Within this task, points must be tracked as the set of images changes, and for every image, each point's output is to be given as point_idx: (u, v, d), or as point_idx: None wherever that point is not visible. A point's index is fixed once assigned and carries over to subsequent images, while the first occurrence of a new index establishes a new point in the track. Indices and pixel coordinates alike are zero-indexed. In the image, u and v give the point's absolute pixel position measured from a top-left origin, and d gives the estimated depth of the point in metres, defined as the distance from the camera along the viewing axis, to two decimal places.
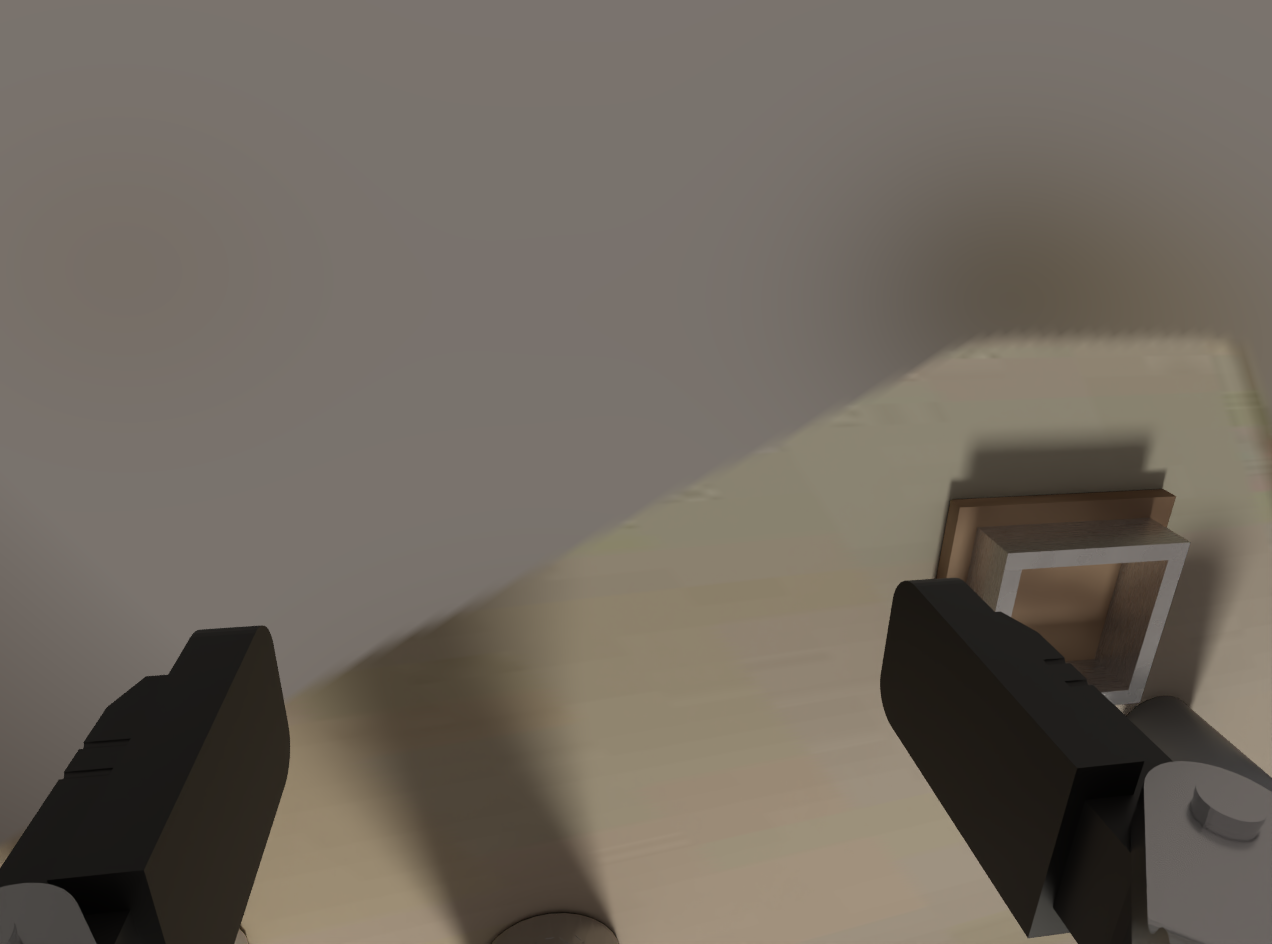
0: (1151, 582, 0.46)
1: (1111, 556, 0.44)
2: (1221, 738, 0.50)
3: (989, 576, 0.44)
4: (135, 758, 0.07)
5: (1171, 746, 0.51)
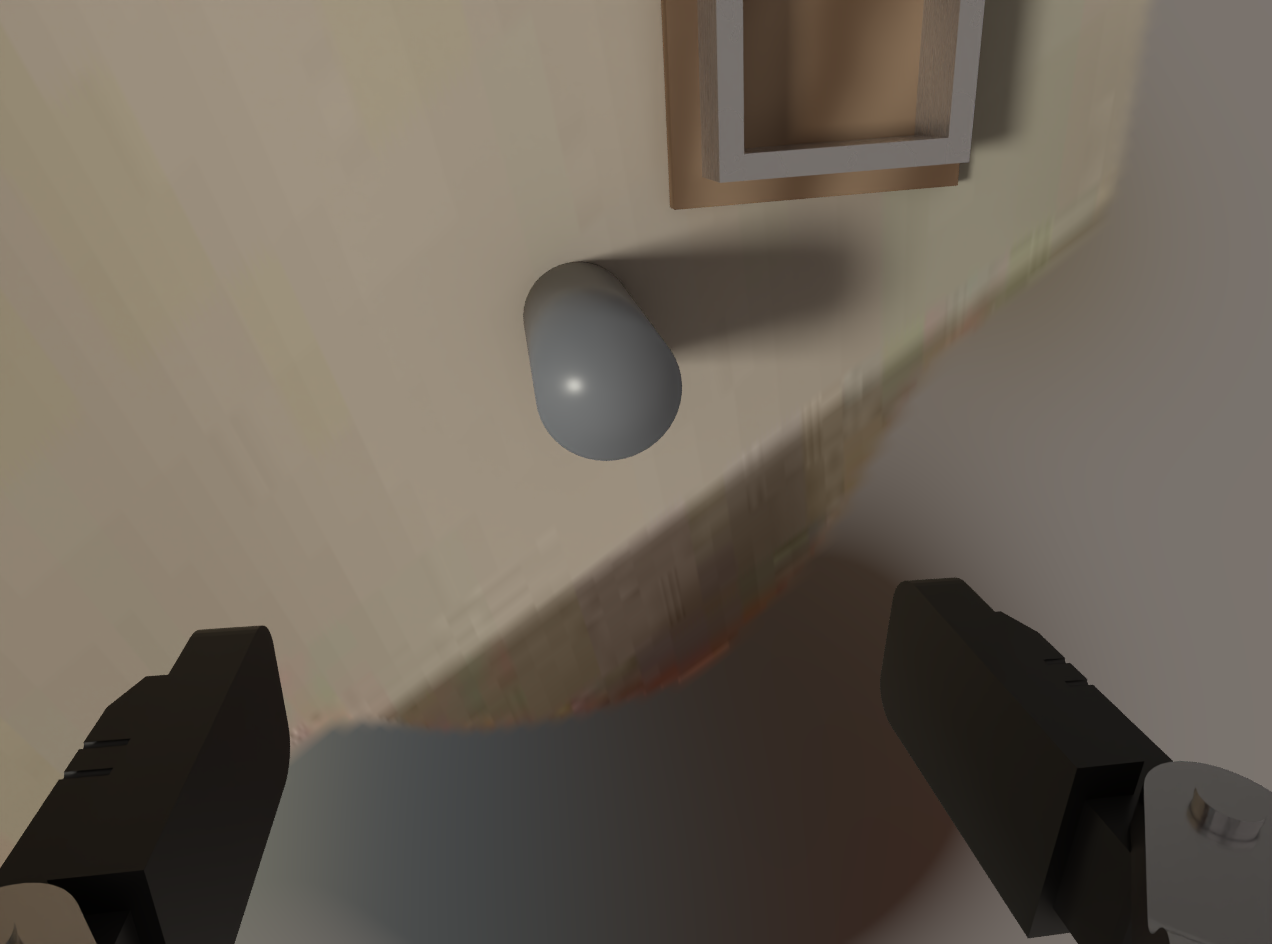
0: (900, 140, 0.34)
1: (968, 39, 0.32)
2: None
3: None
4: (134, 758, 0.07)
5: (620, 286, 0.34)
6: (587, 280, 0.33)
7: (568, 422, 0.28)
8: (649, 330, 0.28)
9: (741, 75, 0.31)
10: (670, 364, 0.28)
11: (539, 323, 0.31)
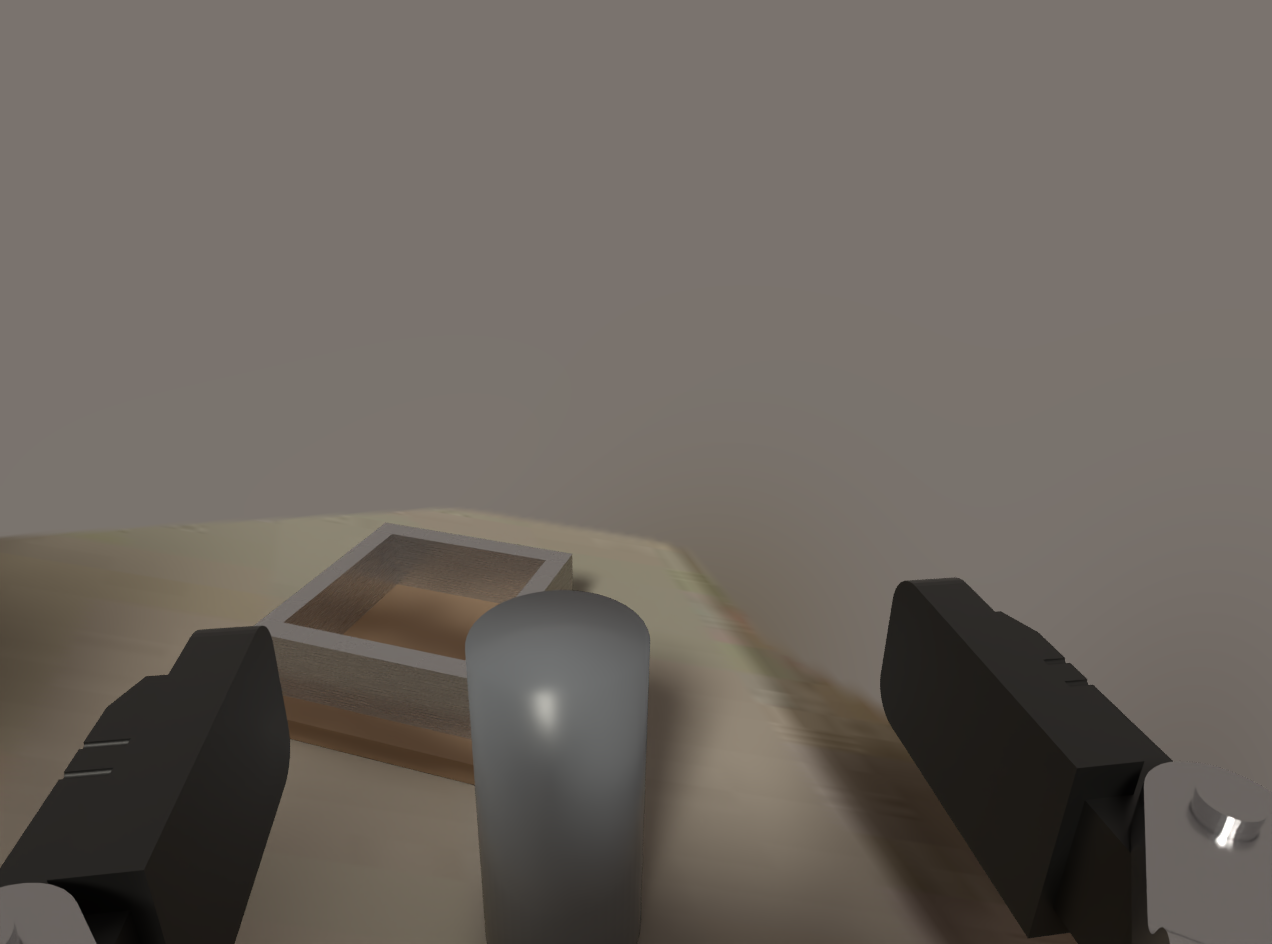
0: None
1: (484, 544, 0.42)
2: None
3: None
4: (135, 758, 0.07)
5: None
6: None
7: (569, 677, 0.21)
8: None
9: (402, 648, 0.34)
10: (561, 594, 0.25)
11: (483, 800, 0.23)
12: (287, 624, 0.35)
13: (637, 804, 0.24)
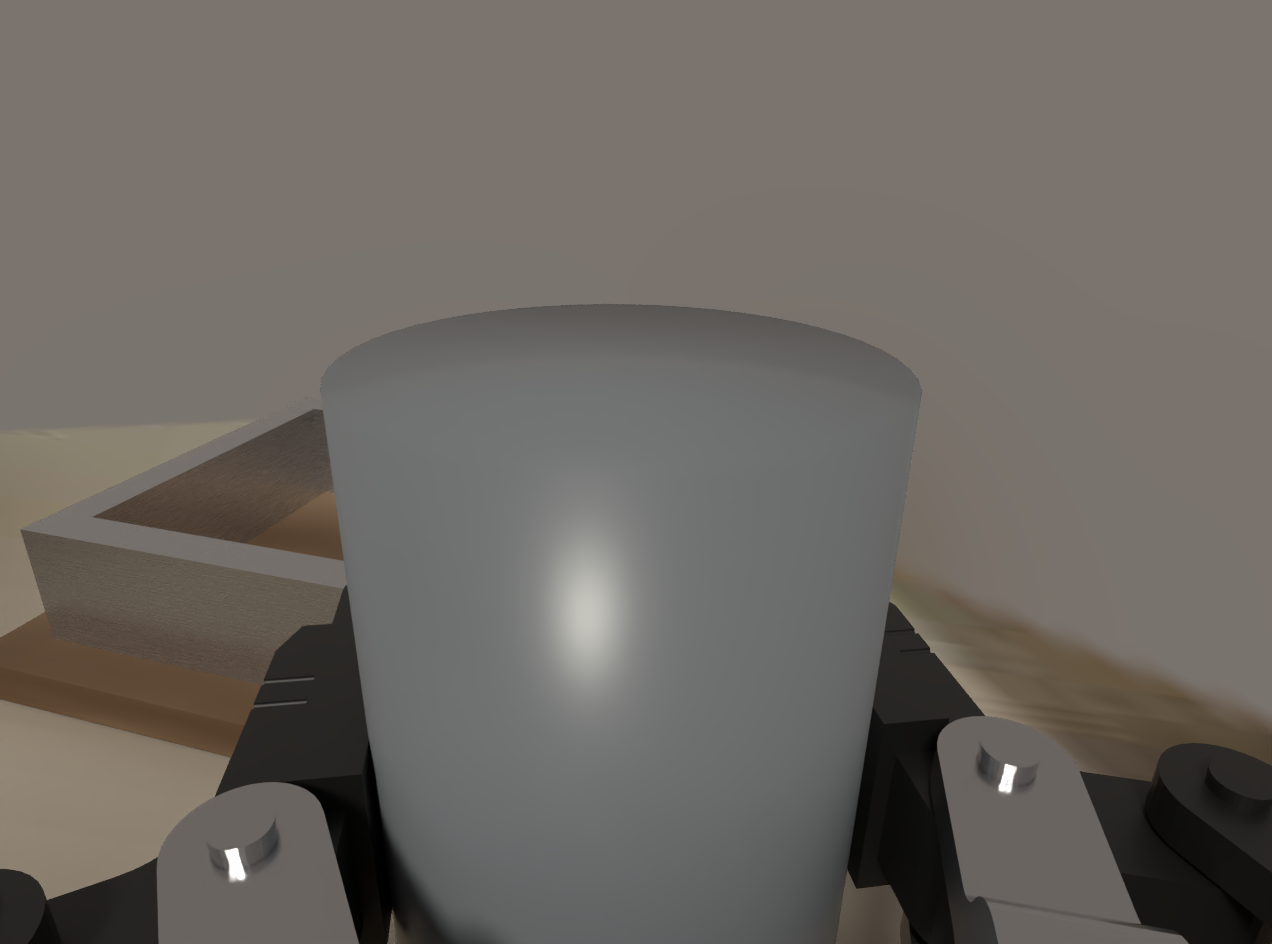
0: None
1: None
2: None
3: None
4: (326, 688, 0.08)
5: None
6: None
7: (682, 431, 0.06)
8: None
9: (295, 554, 0.18)
10: (615, 309, 0.09)
11: (396, 867, 0.08)
12: (98, 520, 0.20)
13: (846, 872, 0.08)
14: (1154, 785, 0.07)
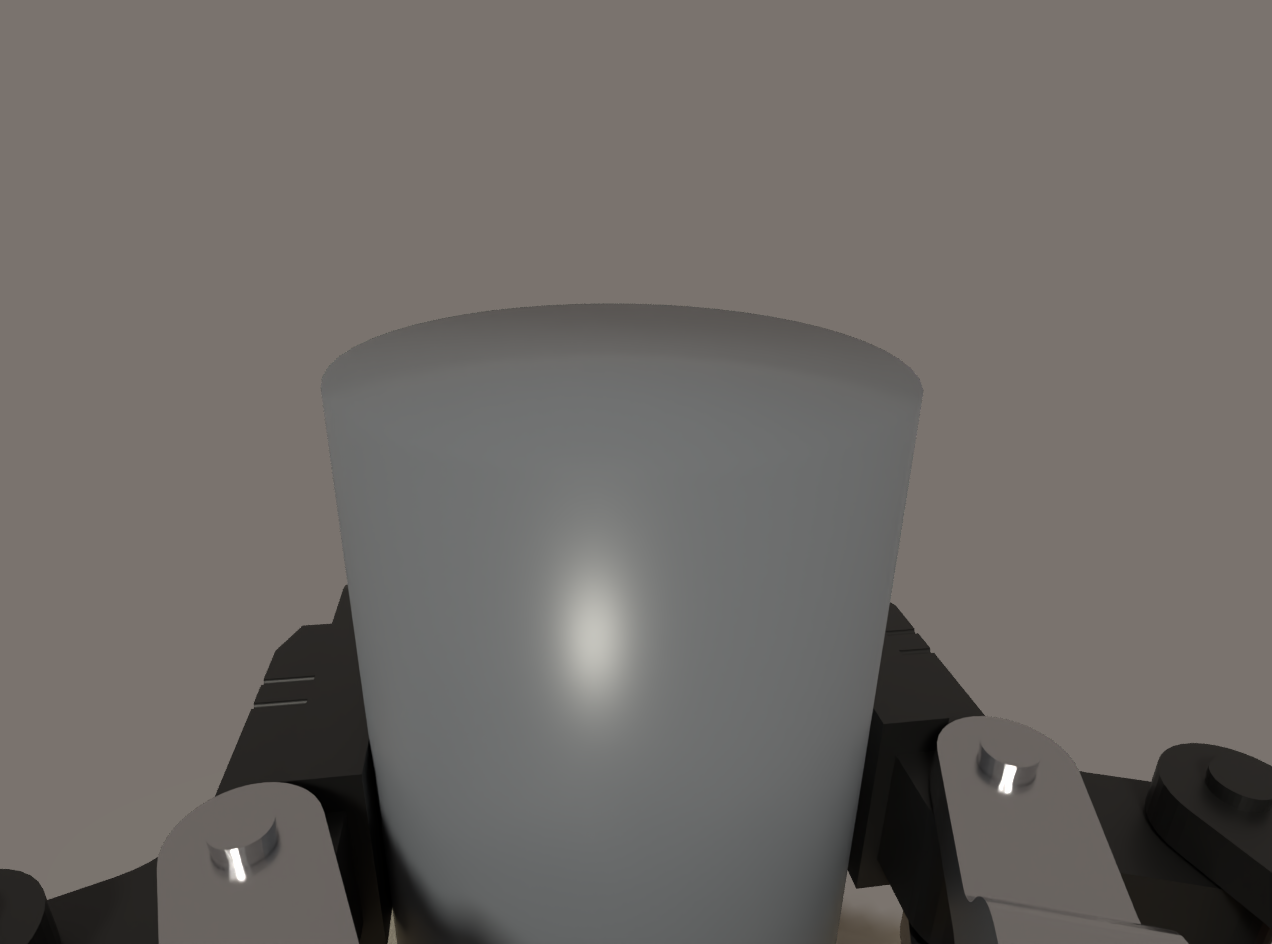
0: None
1: None
2: None
3: None
4: (326, 687, 0.08)
5: None
6: None
7: (684, 429, 0.06)
8: None
9: None
10: (616, 308, 0.09)
11: (396, 866, 0.08)
12: None
13: (846, 871, 0.08)
14: (1154, 785, 0.07)
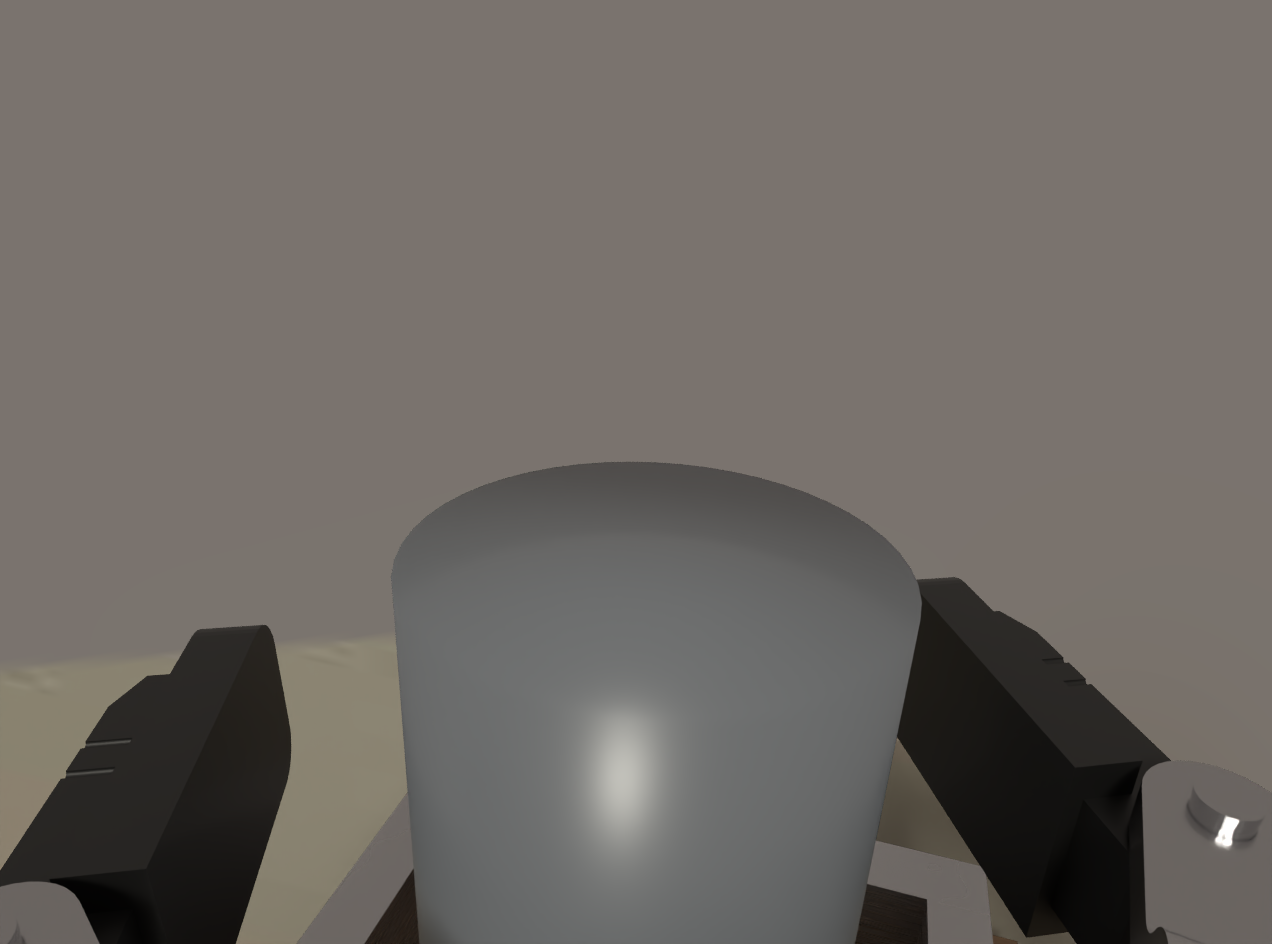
0: None
1: None
2: None
3: None
4: (137, 757, 0.07)
5: None
6: None
7: (715, 658, 0.07)
8: None
9: None
10: (641, 469, 0.10)
11: None
12: None
13: None
14: None
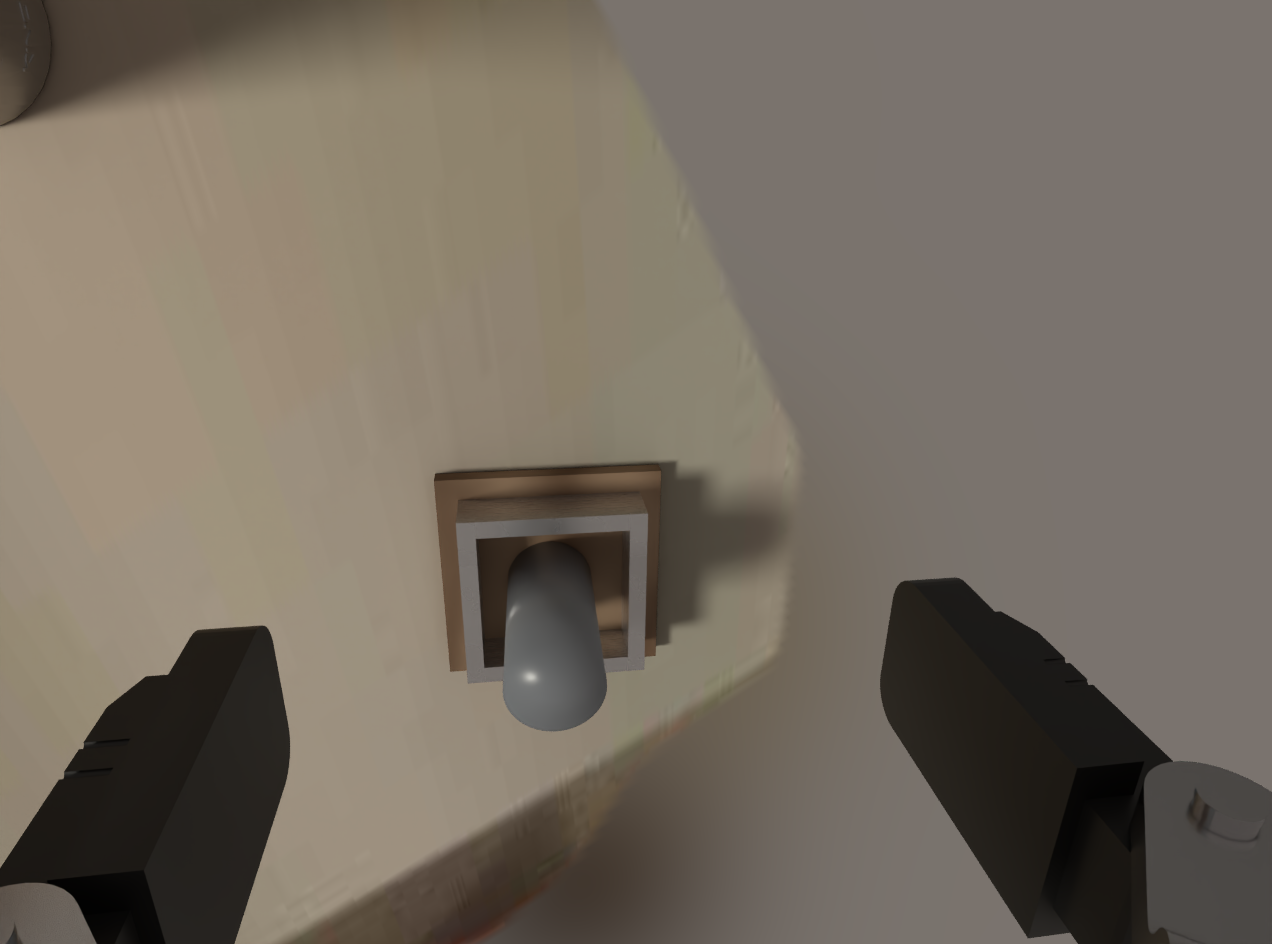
0: None
1: (636, 606, 0.48)
2: None
3: (610, 507, 0.47)
4: (135, 758, 0.07)
5: (573, 573, 0.46)
6: (548, 576, 0.45)
7: (527, 709, 0.40)
8: (580, 648, 0.39)
9: (480, 627, 0.47)
10: (597, 668, 0.40)
11: (510, 620, 0.43)
12: (474, 543, 0.45)
13: None
14: None
